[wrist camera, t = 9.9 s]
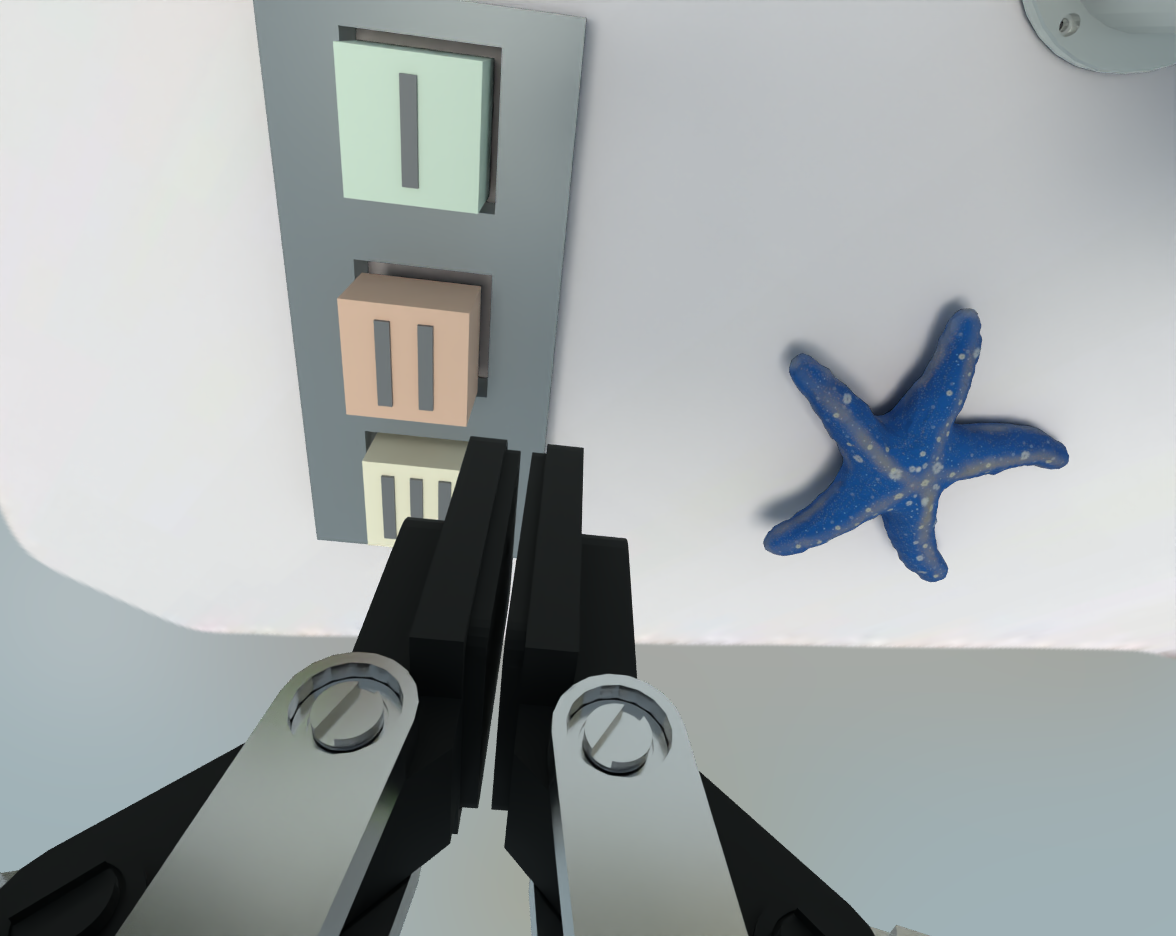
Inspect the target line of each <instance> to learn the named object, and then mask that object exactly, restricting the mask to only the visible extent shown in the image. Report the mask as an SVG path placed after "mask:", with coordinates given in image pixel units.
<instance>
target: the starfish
mask: <svg viewBox="0 0 1176 936" xmlns="http://www.w3.org/2000/svg"><path fill="white" fill-rule="evenodd" d="M980 329H981V323H980V320H979V317H978V313H977V312H976V311H975V310H973V309H960V310H959V311H957V312H956V313H955V314H954V315H953V316H952V317H951V318H950V320H949V321H948V323H947V325H946V327H945V330H944V331H943V333H942V334H941V336H940V338H939V340H938V344H937V349H936V351H935V353H934V355H933V357H932V359H931V360H930V362H929V364H928V365H927V367H926V368H925V370H924V373H923V375H922V376H921V377H920V378H919V379H918V380H917V381H916V382H915V383H914V384H913V385H912V387H911V388H910V389H909V390H908V391H907V392H906V394H905V395H904V396H903V397H902V398H901V400H900V401H899V402H898V403H897V405H896V406H895V407H894V408H893V410H892V411H890V412H888V413H886V414H885V415H881V416H876V415H873V413H872V411H871V410H870V408H869V406H868V405H867V404H866V403H864V402H863V401H862V400H861V399H860V398H858V397H857V396H856V395H855V394H854V393H853V392H852V391H851V390H850V389H849V388H848V387H847V386H846V385H845V384H844V383H842V382H841V381H839V380H838V379H837V378H835V377H834V376H833V374H832V373H831V371H830V370H829V369H828V368H826V367H824V366H822V365H821V364H819V363H818V362H817V361H816V360H814V359H813V358H812V357H810V356H809V355H806V354H804V353H802V354H799V355H798V356H796V357H795V358H794V359H793V360H792V361H791V364H790V367H789V373H790V375H791V377H792V380H793V381H794V383H795V385H796V386H797V388H798V389H799V390H800V391H801V393H802V394H803V395H804V396H805V397H806V398H807V399H808V401H809V403H810V404H811V406H812V408H813V410H814V411H815V413H816V414H817V415H818V416H819V417H820V419H821V420H822V422H823V424H824V427H825V428H826V430H827V431H828V433H829V435H830V437H831V438H832V439H834V440H835V441H836V442H837V445H838V448H839V450H840V453H841V455H842V456H843V463H842V466H841V468H840V470H839V472H838V474H837V476H836V478H835V479H834V481H833V482H832V484H831V485H830V486H829V487H828V488H827V490H825V491H824V492H823V493H821V494H820V495H818V497H817V498H816V499H815V500H814V501H813V502H812V503H811V504H810V505H809V506H807V507H806V508H804V509H802V510H801V511H799V512H797V513H796V514H795V515H794V516H793V517H792V518H790V519H789V520H786V521H783V522H781V523H779V524H778V525H776V526H774V527H773V529H772V530H771V531H769V532H768V534H767V535H766V537H765V539H764V542H763V544H764V547H765V549H766V550H767V551H769V552H771V553H773V554H776V555H781V556H787V555H793V554H797V553H802V552H804V551H806V550H807V549H809V548H811V547H815V546H819V545H822V544H824V543H826V542H828V541H830V540H831V539H833V538H835V537H837V536H839V535H842V534H844V533H846V532H849V531H851V530H853V529H855V528H856V527H858V526H859V525H861V524H862V523H864V522H866V521H868V520H871V519H874V518H875V517H877V516H878V515H880V514H881V516H882V518H883V522H884V526H885V529H886V531H887V534H888V537H889V539H890V540H891V543H892V545H893V547H894V548H895V549H896V550H897V552H898V555H899V559H900V560H901V561H902V562H903V563H904V564H905V566H906V567H907V568H908V569H909V570H911V571H913V572H915V573H917V574H918V575H919V576H920V578H921V579H923V580H926V581H928V582H937V581H939V580H942V579H944V578H945V577H946V575H947V572H948V567H947V564H946V562H945V561H944V559H943V557H942V555H941V554H940V552H939V551H938V549H937V544H936V539H935V531H934V529H935V524H936V522H937V519H936V513H937V508H938V500H939V497H940V495H941V493H942V491H943V490H944V489H945V488H947V487H949V486H950V485H951V484H953V483H954V482H956V481H958V480H964V479H971V478H973V477H979V476H982V475H986V474H991V475H995V474H997V473H999V472H1002V471H1004V470H1006V469H1009V468H1014V467H1018V466H1023V465H1026V466H1030V465H1035V466H1038V467H1041V468H1046V469H1060V468H1062V467H1064V466H1065V465H1066V464H1067V463H1068V461H1069V455H1068V453H1067V450H1066V447H1065V446H1064V445H1063V444H1062V443H1061V442H1059V441H1056V440H1054V439H1053V438H1052V437H1050V436H1049V435H1047V434H1046V433H1044V432H1043V431H1041V430H1040V429H1038V428H1034V427H1031V426H1020V425H1014V424H1011V423H1010V424H1002V423H977V424H962V425H960V424H956V423H954V421H955V419H956V417H957V415H958V414H959V412H960V411H961V410H962V408H963V405H964V403H965V400H966V398H967V394H968V391H969V389H970V387H971V382H972V378H973V375H974V373H975V365H976V363H977V362H978V359H979V355H980V350H981V343H982V337H981V335H980Z"/></svg>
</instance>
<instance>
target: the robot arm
mask: <svg viewBox="0 0 1176 936" xmlns="http://www.w3.org/2000/svg"><path fill="white" fill-rule="evenodd" d="M1022 1H1023V5H1024V8H1025V12H1026V15H1027V17H1028V19H1029V20H1030V22H1031V24H1032V26H1033V28H1034V29H1035V31H1036V33H1037V35H1038V37H1039V38H1040V39H1041V40H1042V41H1043V42H1044V43H1045V44H1046V45H1047V46H1048V47H1049V48H1050V49H1051V50H1052V51H1053V52H1054V53H1055V54H1056V55H1057V56H1059V57H1061V58H1062V59H1064V60H1066V61H1068V62H1069V63H1071V64H1073V65H1074V66H1077V67H1081V68H1085V69H1088V70H1092V71H1096V72H1103V73H1116V74H1130V73H1142V72H1151V71H1154V70H1158V69H1161V68H1165V67H1168V66H1172V65H1176V0H1022ZM1062 20H1063V26H1062V28H1061V29H1060V30H1059V27H1060V23H1061V21H1062ZM583 454H584V448H580V447H570V446H561V445H552V444H548V446H547V454H546V453H536V452H532V457H531V464H530V471H529V478H528V485H527V491H526V498H525V505H524V512H523V519H522V526H521V532H520V539H519V546H518V553H517V560H516V567H515V573H514V580H513V587H512V594H511V601H510V608H509V614H508V621H507V629H506V636H505V645H504V654H503V665H502V679H501V692H500V704H499V717H498V730H497V744H496V756H495V769H494V783H493V795H492V808H491V809H493V810H507V811H508V817H507V826H506V836H505V846H504V847H505V849H506V850H507V851H508V852H509V854H510V855H511V856H512V857H513V858H514V860H515V861H516V862H517V863H518V865H519V866H520V867H521V868H522V869H523V871H524V872H525V873H526V874H527V876H528V877H529V878H530V882H529V901H530V917H531V932H532V936H929V935H926V934H923V933H919V932H917V931H914V930H910V929H907V928H904V927H901V926H898V925H896V926H895V927H894V928H893V930H892V931H891V932H890V933H888V932H885V931H882V930H879V929H876V928H873V927H870V926H869V925H868V924H867V923H866V922H865V921H864V920H863V919H862V918H861V917H860V916H859V915H858V913H857V912H856V911H855V910H854V909H853V908H852V907H851V906H850V905H849V904H848V903H847V902H846V901H845V900H843V898H841V897H840V896H839V895H838V894H837V893H836V892H835V891H834V890H832V889H831V888H830V887H829V886H828V885H827V884H826V883H825V882H823V881H822V880H821V879H820V878H819V877H818V876H817V875H816V874H814V873H813V872H812V871H811V870H810V869H809V868H808V867H806V866H805V865H804V864H803V863H802V862H801V861H800V860H799V859H797V858H796V857H795V856H794V855H793V854H792V853H791V852H790V851H788V850H787V849H786V848H785V847H784V846H783V845H782V844H781V843H779V842H778V841H777V840H776V839H775V838H774V837H773V836H771V835H770V834H769V833H768V832H767V831H766V830H765V829H764V828H763V827H761V826H760V825H759V824H758V823H757V822H756V821H755V820H754V819H752V818H751V817H750V816H749V815H748V814H747V813H746V812H745V811H743V810H742V809H741V808H740V807H739V806H738V805H737V804H735V803H734V802H733V801H732V800H731V799H730V798H729V797H728V796H727V795H725V794H724V793H723V792H722V791H721V790H720V789H719V788H718V787H716V786H715V785H714V784H713V783H712V782H711V781H710V780H709V779H707V778H706V777H705V776H704V775H703V774H702V773H701V772H699V770H698V767H697V764H696V760H695V757H694V754H693V751H692V747H691V744H690V741H689V737H688V734H687V731H686V727H685V724H684V722H683V720H682V718H681V716H680V714H679V712H678V710H677V708H676V707H675V706H674V704H673V703H672V702H671V701H670V700H669V699H668V698H667V697H666V696H665V695H664V693H662V692H661V691H659V690H658V689H656V688H654V687H653V686H652V685H650V684H648V683H647V682H644V681H641V680H639V679H637V671H636V656H635V640H634V625H633V610H632V595H631V580H630V565H629V550H628V542H627V539H626V538H616V537H606V536H596V535H586V534H582V495H583ZM520 459H521V451H518V450H508V440H505V439H496V438H486V437H477V436H470V439H469V442H468V445H467V448H466V452H465V455H464V458H463V462H462V465H461V468H460V471H459V475H458V478H457V481H456V485H455V488H454V491H453V494H452V498H451V501H450V504H449V507H448V511H447V514H446V517H445V520H435V519H425V518H415V517H407V518H406V519H405V520H404V522H403V524H402V526H401V528H400V531H399V533H398V536H397V538H396V541H395V543H394V546H393V549H392V551H391V554H390V556H389V559H388V561H387V564H386V567H385V569H384V572H383V574H382V577H381V579H380V582H379V585H378V587H377V590H376V592H375V595H374V597H373V600H372V603H371V605H370V608H369V610H368V613H367V615H366V618H365V621H364V623H363V626H362V628H361V631H360V633H359V636H358V639H357V641H356V644H355V646H354V649H353V651H352V652H351V653H344V654H337V655H332V656H330V657H327V658H325V659H322V660H319V661H317V662H314V663H312V664H311V665H309V666H308V667H306V668H305V669H303V670H302V671H300V672H299V673H297V674H296V675H294V676H293V677H292V679H291V680H290V681H289V682H288V683H287V684H286V685H285V686H284V688H283V689H282V690H281V691H280V692H279V694H278V695H277V697H276V698H275V700H274V701H273V703H272V704H271V706H270V707H269V709H268V710H267V711H266V713H265V714H264V716H263V717H262V719H261V720H260V722H259V723H258V725H257V726H256V728H255V729H254V731H253V732H252V734H251V735H250V737H249V738H248V740H247V741H246V743H244V744H242V745H240V746H238V747H237V748H235V749H233V750H231V751H229V752H227V753H225V754H224V755H222V756H220V757H218V758H216V759H214V760H213V761H211V762H209V763H207V764H205V765H204V766H202V767H200V768H198V769H196V770H195V771H193V772H191V773H189V774H187V775H185V776H183V777H182V778H180V779H178V780H176V781H175V782H172V783H171V784H169V785H167V786H165V787H163V788H161V789H160V790H158V791H156V792H154V793H153V794H150V795H149V796H147V797H145V798H143V799H142V800H140V801H138V802H136V803H134V804H132V805H130V806H129V807H127V808H125V809H123V810H121V811H119V812H118V813H116V814H114V815H112V816H110V817H108V818H107V819H105V820H103V821H101V822H99V823H97V824H96V825H94V826H92V827H90V828H88V829H86V830H85V831H83V832H81V833H79V834H77V835H75V836H74V837H72V838H70V839H68V840H66V841H65V842H63V843H61V844H59V845H57V846H55V847H54V848H52V849H50V850H48V851H47V852H45V853H44V854H43V855H41V856H39V857H38V858H36V859H35V860H33V861H32V862H30V863H29V864H27V865H26V866H24V867H23V868H21V869H20V870H17V871H12V872H5V873H0V936H399V935H400V933H401V930H402V927H403V924H404V921H405V919H406V916H407V913H408V910H409V907H410V904H411V902H412V899H413V896H414V893H415V890H416V887H417V884H418V881H419V876H420V871H421V866H422V865H423V864H425V863H426V862H427V861H428V860H430V859H431V858H432V857H433V856H435V855H436V854H437V853H439V852H440V851H441V850H442V849H444V848H445V847H446V846H448V845H449V844H450V841H451V835H452V834H458V829H459V822H460V816H461V811H462V807H467V808H478V804H479V799H480V792H481V786H482V779H483V772H484V765H485V759H486V752H487V746H488V739H489V732H490V726H491V719H492V712H493V705H494V699H495V692H496V685H497V679H498V672H499V665H500V658H501V651H502V645H503V638H504V631H505V625H506V618H507V611H508V604H509V596H510V586H511V573H512V560H513V548H514V535H515V523H516V510H517V497H518V485H519V472H520Z"/></svg>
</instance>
